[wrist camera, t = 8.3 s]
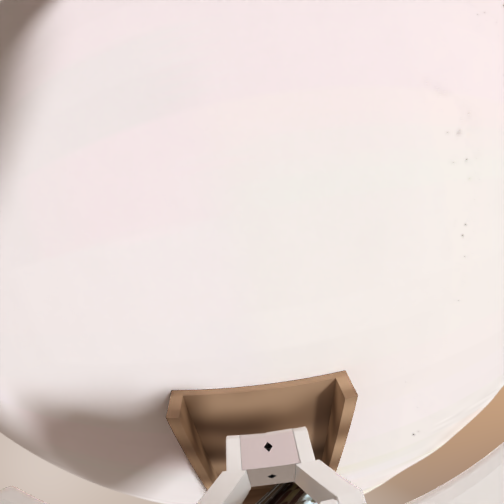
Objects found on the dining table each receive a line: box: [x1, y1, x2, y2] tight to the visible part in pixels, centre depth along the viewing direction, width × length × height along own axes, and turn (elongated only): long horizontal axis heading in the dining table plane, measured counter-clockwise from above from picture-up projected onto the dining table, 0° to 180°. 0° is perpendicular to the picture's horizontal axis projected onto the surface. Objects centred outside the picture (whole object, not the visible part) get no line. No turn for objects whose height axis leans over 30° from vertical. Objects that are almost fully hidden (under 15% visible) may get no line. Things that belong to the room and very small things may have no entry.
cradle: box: [166, 371, 358, 504], centre depth 22 cm, size 22×14×3 cm, turn 5°
